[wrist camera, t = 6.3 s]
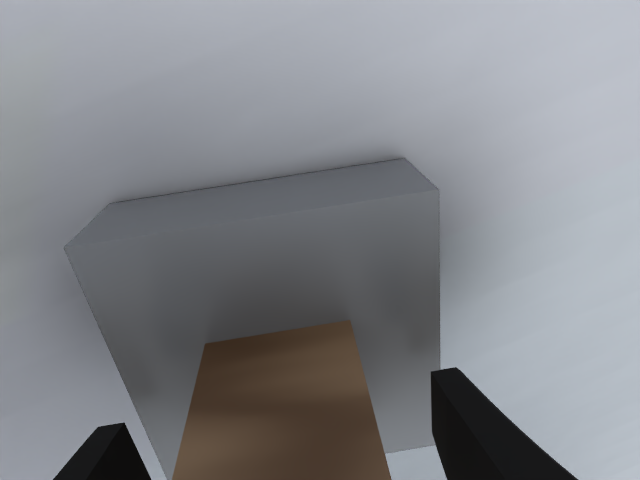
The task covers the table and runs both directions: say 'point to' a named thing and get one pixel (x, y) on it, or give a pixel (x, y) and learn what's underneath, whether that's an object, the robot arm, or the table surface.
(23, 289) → the table surface
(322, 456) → the walnut block
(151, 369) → the plinth
